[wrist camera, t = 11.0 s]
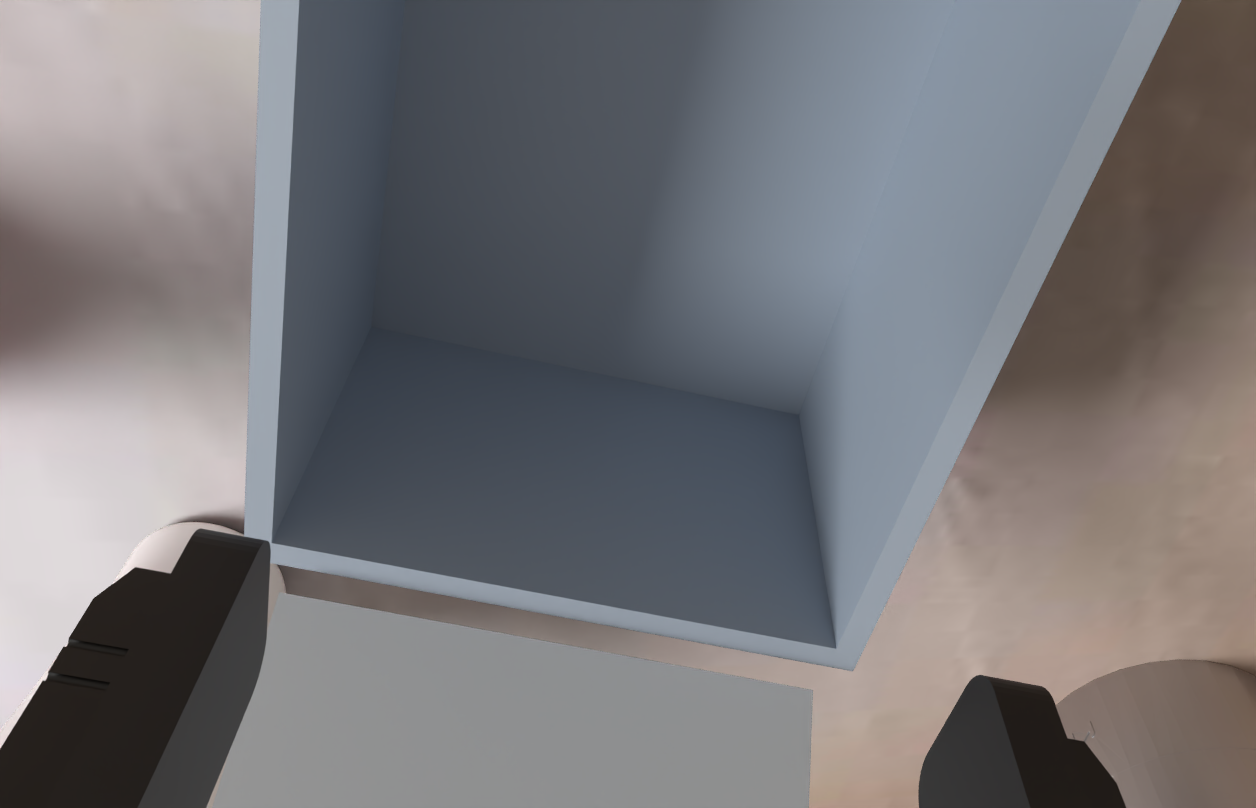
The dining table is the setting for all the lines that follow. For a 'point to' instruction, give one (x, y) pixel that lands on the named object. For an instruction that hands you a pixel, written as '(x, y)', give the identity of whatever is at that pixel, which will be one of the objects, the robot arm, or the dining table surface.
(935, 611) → the dining table surface
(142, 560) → the drinking glass
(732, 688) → the flap
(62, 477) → the dining table surface
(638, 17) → the carton
